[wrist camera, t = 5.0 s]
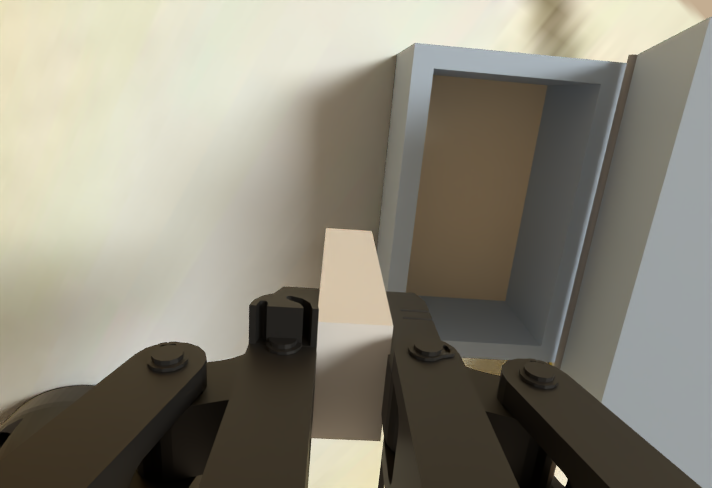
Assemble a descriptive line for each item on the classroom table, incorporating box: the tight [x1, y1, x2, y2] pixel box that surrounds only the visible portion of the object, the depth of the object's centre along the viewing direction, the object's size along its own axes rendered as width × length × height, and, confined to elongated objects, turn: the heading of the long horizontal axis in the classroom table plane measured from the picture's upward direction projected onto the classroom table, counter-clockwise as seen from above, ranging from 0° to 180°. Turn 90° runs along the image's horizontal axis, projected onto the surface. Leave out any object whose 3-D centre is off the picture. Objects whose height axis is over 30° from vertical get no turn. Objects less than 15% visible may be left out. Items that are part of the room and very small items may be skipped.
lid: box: [554, 17, 712, 488], centre depth 19 cm, size 10×17×5 cm
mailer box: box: [377, 43, 627, 363], centre depth 28 cm, size 10×16×7 cm, turn 175°
